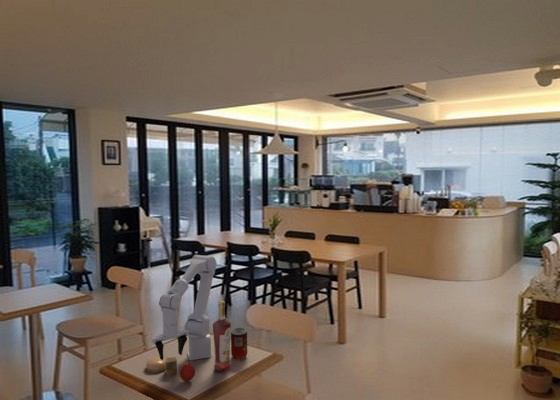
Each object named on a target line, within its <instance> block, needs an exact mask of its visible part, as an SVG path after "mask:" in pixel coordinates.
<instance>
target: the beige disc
mask: <svg viewBox="0 0 560 400" xmlns="http://www.w3.org/2000/svg"><path fill="white" fill-rule="evenodd" d="M166 358H168V356H164V355H163V360H161V359H160V356H153V357H151V358H149V359H147V360H146V363H145V365H146V366H145V367H146V371H147V372H150V373H160V372H163V371H166Z"/></svg>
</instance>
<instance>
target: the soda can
mask: <svg viewBox="0 0 560 400" xmlns="http://www.w3.org/2000/svg"><path fill="white" fill-rule="evenodd" d="M230 355H231V357H232V359H233V360H235V361H243V360H245V359H246V358H247V355H248V331H247V329H246V328H243V327H236V328H235V327H234V328H233V329H232V330H231V337H230Z"/></svg>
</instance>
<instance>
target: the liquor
mask: <svg viewBox="0 0 560 400" xmlns="http://www.w3.org/2000/svg"><path fill="white" fill-rule="evenodd" d="M225 306H226V301H224V300H220V301H219V300H218V302H217V307H218V317H217V320H216V321H214V322H213V323H212V336H213V347H214V348H213V349H214V365H213V367H214V369H215V370H216V371H218V372H226V371H228V370H229V369H230V368H231V366H232V364H231V356H230V355H231V331H232V330H231V328H232V324H231V322H230V321H229V320H227V319H226V312H225V308H226V307H225Z"/></svg>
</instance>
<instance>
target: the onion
mask: <svg viewBox="0 0 560 400" xmlns="http://www.w3.org/2000/svg"><path fill="white" fill-rule="evenodd" d="M195 375H196V370H195V367H194V365H192V364H191V363H189V362H188V361H186V362H185V364H183V365H182V366H181V367H180V370H179V378H180V379H181V380H183V381H184V382H185V383H189V382H190V381H192V380H193V379H194V377H195Z"/></svg>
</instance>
